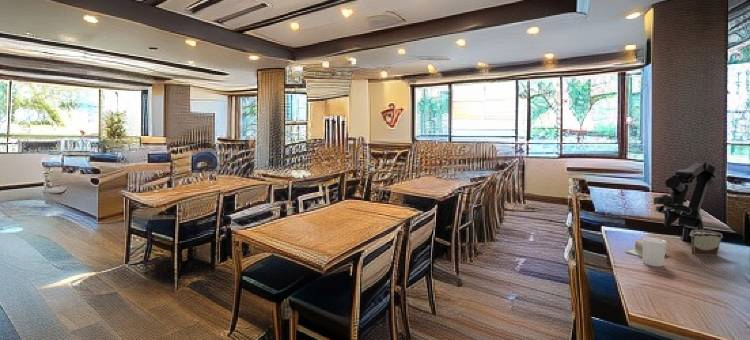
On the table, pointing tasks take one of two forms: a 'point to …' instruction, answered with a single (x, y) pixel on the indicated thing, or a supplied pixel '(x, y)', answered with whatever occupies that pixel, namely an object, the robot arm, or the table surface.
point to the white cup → (654, 251)
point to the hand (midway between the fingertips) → (666, 226)
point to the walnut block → (639, 246)
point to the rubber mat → (635, 253)
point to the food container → (705, 242)
